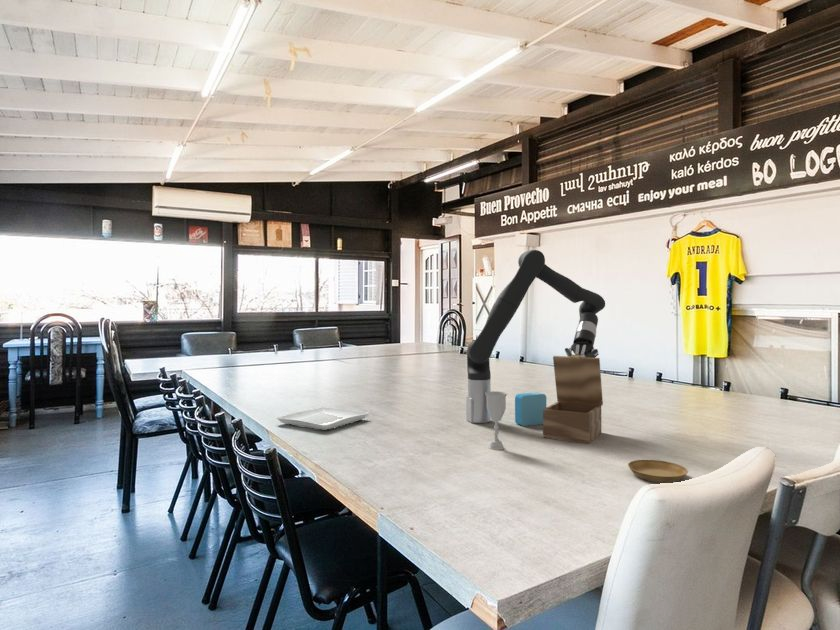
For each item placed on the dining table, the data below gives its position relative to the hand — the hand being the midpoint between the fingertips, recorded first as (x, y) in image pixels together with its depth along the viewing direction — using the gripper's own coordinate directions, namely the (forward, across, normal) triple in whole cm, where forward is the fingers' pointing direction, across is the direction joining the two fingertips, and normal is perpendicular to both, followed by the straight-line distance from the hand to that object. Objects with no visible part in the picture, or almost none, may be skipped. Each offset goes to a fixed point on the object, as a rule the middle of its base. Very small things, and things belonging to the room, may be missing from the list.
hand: (577, 369), depth 187 cm
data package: (+14, -19, +18) cm, 30 cm away
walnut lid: (+4, 0, +2) cm, 4 cm away
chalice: (+42, -17, -9) cm, 46 cm away
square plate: (+43, -92, -10) cm, 102 cm away
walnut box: (+21, 0, +12) cm, 24 cm away
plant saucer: (+45, +32, -12) cm, 56 cm away
